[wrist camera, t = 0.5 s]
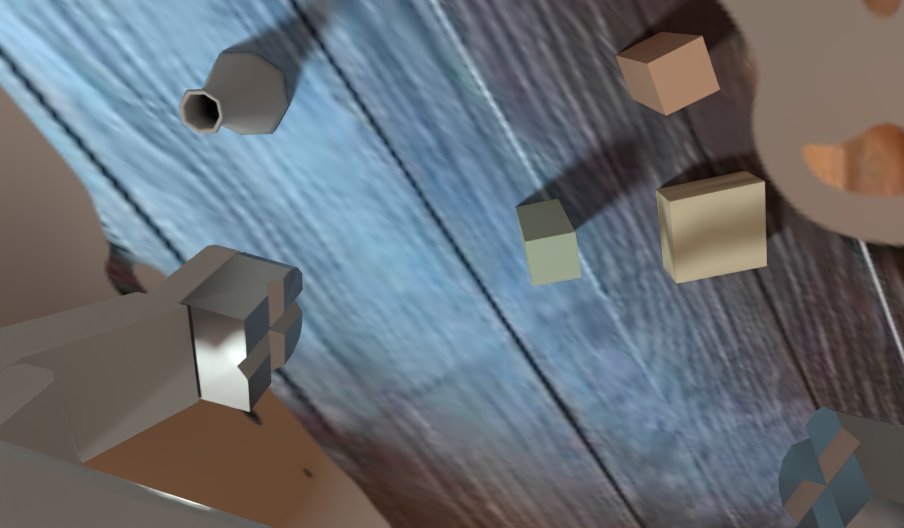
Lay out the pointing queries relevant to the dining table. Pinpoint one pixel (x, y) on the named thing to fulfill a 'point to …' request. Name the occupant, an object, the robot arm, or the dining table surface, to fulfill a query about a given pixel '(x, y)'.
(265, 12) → the dining table surface
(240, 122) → the flask
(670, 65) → the terracotta block
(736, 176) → the beech block
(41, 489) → the robot arm
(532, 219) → the sage block
